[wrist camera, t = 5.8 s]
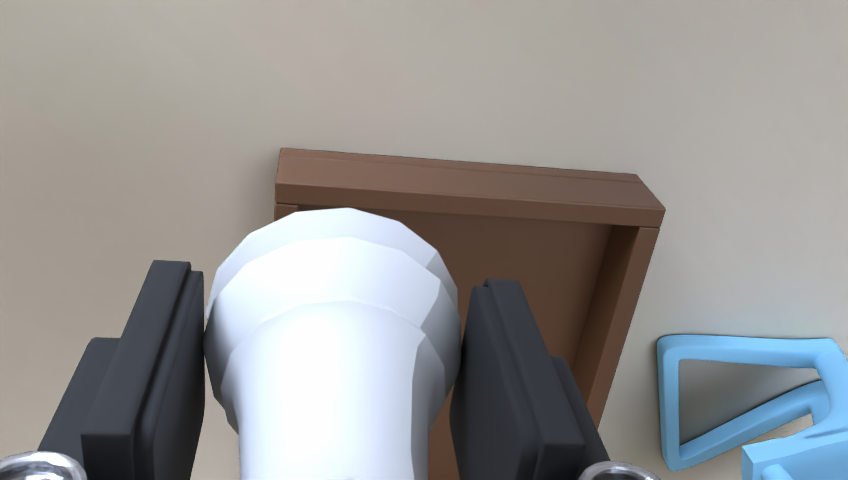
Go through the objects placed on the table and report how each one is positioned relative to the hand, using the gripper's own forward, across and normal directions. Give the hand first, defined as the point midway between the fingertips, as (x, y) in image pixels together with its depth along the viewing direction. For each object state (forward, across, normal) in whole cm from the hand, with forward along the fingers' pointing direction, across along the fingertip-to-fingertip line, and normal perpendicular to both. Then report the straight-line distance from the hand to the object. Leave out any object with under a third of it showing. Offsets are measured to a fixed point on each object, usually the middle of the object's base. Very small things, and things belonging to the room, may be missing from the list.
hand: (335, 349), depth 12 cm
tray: (+16, -5, +11) cm, 20 cm away
